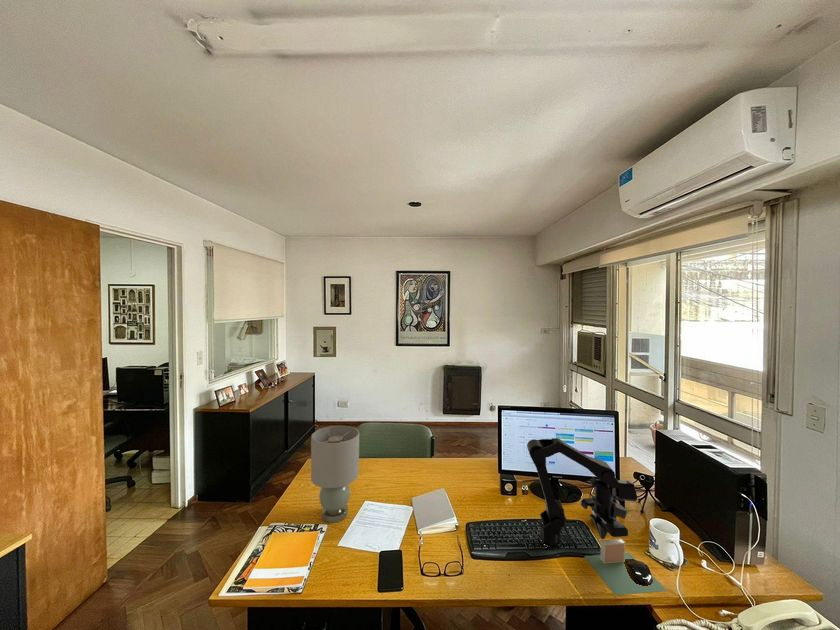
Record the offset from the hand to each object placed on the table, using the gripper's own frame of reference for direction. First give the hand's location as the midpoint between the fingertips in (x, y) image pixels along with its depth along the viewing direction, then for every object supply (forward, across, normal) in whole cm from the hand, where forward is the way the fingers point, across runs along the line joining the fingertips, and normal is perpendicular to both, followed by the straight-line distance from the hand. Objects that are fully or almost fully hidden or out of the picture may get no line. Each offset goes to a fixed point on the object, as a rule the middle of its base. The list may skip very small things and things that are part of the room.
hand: (602, 538), depth 120 cm
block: (+4, -6, 0) cm, 7 cm away
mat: (+4, -11, 0) cm, 12 cm away
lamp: (+5, +30, +103) cm, 107 cm away
